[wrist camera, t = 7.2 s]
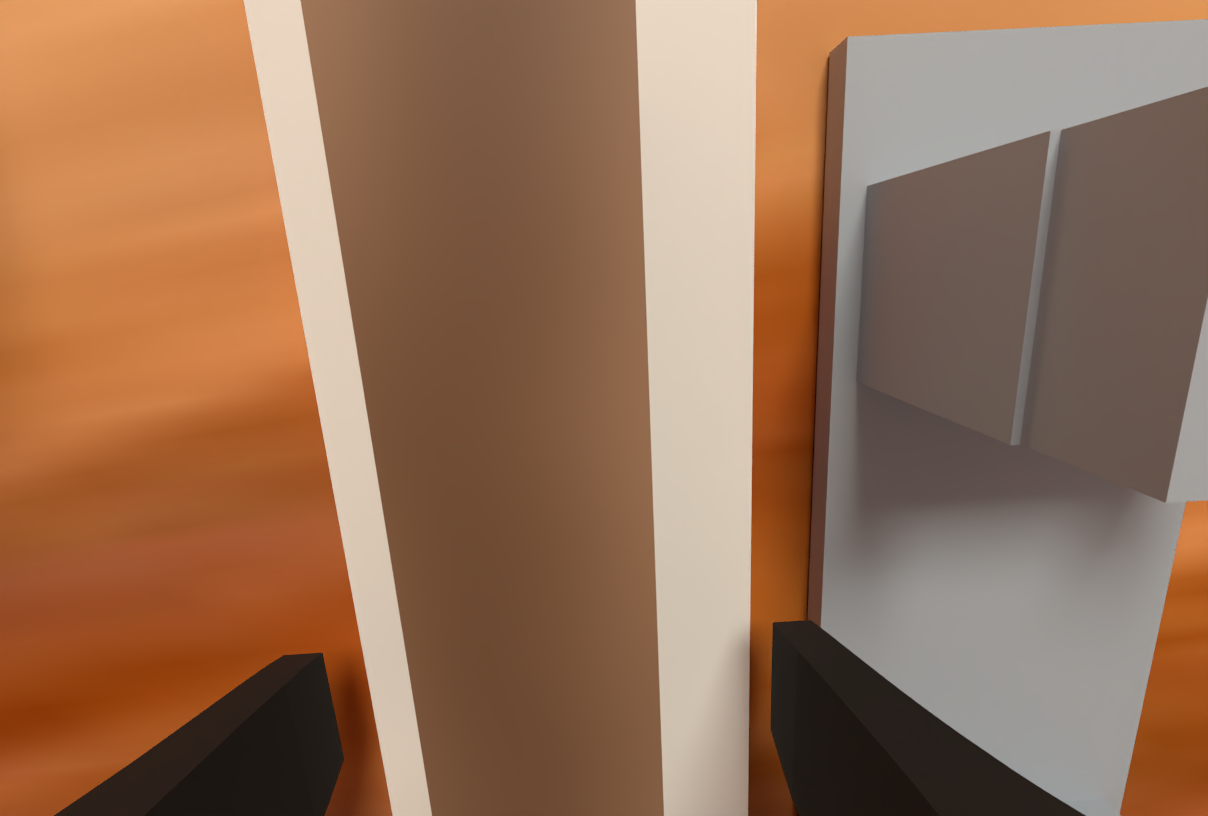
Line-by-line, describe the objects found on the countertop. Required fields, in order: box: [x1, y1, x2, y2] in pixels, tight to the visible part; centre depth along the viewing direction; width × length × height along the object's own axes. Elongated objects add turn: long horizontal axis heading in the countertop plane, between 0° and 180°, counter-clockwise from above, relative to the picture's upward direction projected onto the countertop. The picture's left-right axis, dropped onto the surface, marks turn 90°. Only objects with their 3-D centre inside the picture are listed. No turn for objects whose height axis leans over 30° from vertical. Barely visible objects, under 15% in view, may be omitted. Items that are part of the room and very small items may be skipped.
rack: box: [808, 19, 1208, 816], centre depth 8 cm, size 6×19×6 cm, turn 3°
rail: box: [300, 0, 664, 816], centre depth 9 cm, size 3×18×3 cm, turn 3°
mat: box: [244, 0, 757, 816], centre depth 10 cm, size 7×22×1 cm, turn 3°
